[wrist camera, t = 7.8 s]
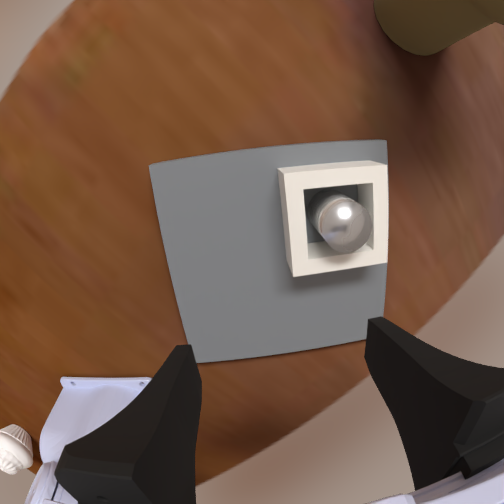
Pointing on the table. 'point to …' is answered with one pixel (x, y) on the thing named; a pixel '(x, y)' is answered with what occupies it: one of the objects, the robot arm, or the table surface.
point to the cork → (435, 21)
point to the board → (257, 254)
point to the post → (340, 220)
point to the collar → (320, 253)
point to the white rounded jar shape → (15, 449)
